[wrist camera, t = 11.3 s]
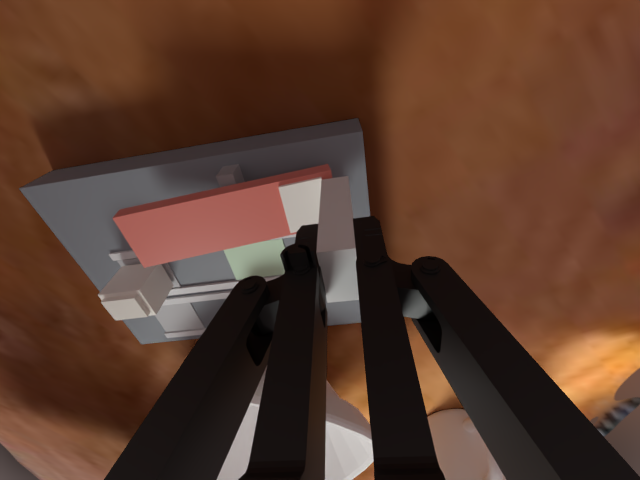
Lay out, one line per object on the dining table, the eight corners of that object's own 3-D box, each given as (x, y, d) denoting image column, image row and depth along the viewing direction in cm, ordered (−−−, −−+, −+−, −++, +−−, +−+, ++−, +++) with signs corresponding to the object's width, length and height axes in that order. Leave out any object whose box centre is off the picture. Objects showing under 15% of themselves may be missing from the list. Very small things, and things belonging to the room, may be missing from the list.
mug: (442, 388, 38) (475, 493, 29) (506, 394, 38) (557, 500, 30) (411, 433, 45) (431, 529, 36) (466, 438, 45) (499, 534, 37)
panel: (155, 319, 31) (133, 358, 28) (52, 170, 22) (-2, 199, 19) (375, 295, 29) (382, 335, 25) (358, 117, 20) (365, 139, 16)
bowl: (212, 293, 29) (176, 378, 22) (394, 357, 34) (412, 443, 27) (167, 395, 40) (133, 475, 33) (311, 432, 45) (308, 508, 38)
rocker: (149, 257, 19) (142, 270, 18) (119, 209, 17) (110, 219, 16) (336, 216, 20) (340, 225, 19) (328, 163, 18) (331, 171, 17)
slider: (138, 289, 24) (113, 323, 22) (122, 266, 23) (93, 299, 20) (173, 285, 24) (153, 319, 21) (159, 261, 23) (136, 294, 20)
